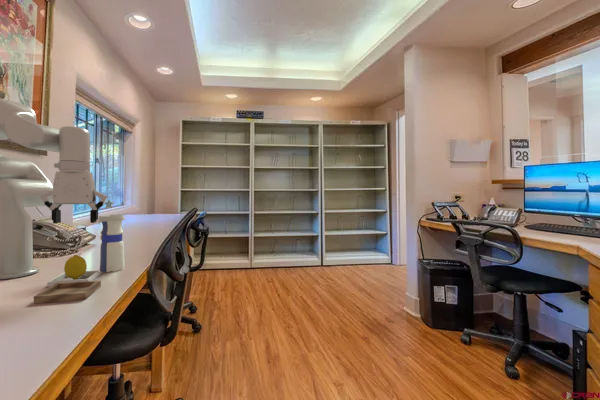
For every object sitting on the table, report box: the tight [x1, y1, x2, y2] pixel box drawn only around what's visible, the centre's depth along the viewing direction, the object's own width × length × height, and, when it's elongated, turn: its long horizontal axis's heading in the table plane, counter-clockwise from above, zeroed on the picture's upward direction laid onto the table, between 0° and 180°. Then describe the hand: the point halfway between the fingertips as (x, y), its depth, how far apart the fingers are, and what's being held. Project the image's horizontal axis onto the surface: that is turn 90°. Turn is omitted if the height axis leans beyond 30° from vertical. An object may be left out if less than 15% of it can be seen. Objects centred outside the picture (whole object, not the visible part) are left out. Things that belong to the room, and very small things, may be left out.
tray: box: [33, 279, 102, 305], centre depth 79 cm, size 11×11×2 cm
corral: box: [46, 269, 101, 288], centre depth 92 cm, size 10×10×1 cm
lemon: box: [63, 254, 88, 280], centre depth 92 cm, size 6×6×8 cm
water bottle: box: [97, 199, 126, 273], centre depth 104 cm, size 8×9×25 cm
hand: (75, 222), depth 91 cm, fingers open, 9 cm apart
